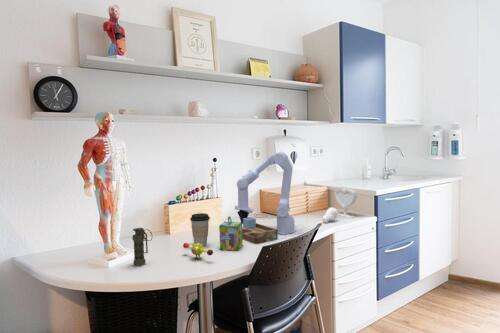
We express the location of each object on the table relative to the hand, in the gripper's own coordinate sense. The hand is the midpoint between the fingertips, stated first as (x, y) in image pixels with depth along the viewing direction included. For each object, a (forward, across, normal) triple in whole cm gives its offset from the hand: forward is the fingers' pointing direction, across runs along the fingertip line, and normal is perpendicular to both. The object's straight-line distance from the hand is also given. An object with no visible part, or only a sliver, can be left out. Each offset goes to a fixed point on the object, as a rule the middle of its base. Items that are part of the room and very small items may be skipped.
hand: (243, 223), depth 192 cm
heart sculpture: (+4, +10, +75) cm, 76 cm away
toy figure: (+4, +26, -42) cm, 49 cm away
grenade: (+4, +18, -63) cm, 66 cm away
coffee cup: (+4, +10, -32) cm, 34 cm away
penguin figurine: (+4, +16, +53) cm, 55 cm away
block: (+1, +6, 0) cm, 6 cm away
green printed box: (+4, +22, -22) cm, 31 cm away
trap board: (+4, +14, -3) cm, 15 cm away
